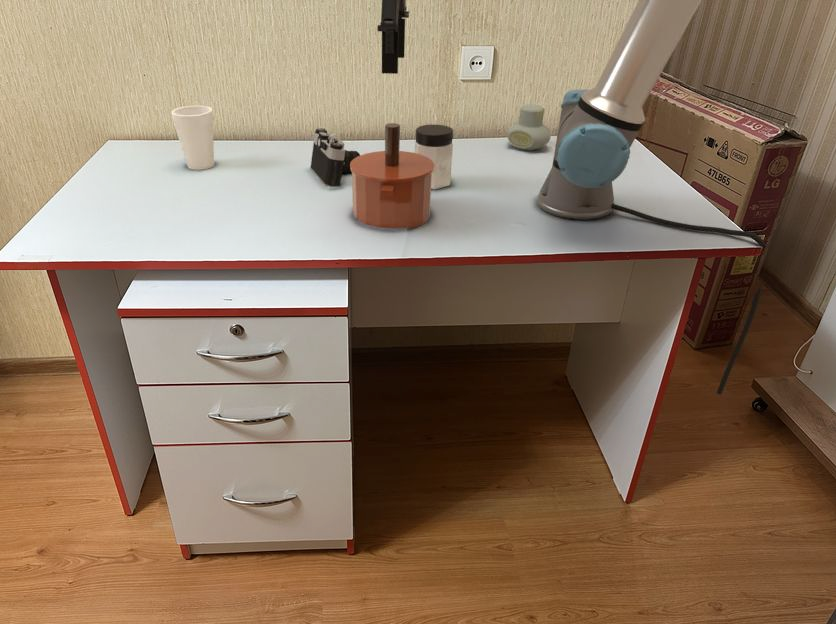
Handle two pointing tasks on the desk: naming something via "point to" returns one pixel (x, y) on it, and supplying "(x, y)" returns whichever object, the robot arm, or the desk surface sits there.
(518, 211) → the desk surface
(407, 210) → the pot
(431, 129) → the jar
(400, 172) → the lid
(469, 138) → the desk surface
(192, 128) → the foam cup
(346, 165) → the camera
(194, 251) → the desk surface
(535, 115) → the air freshener
